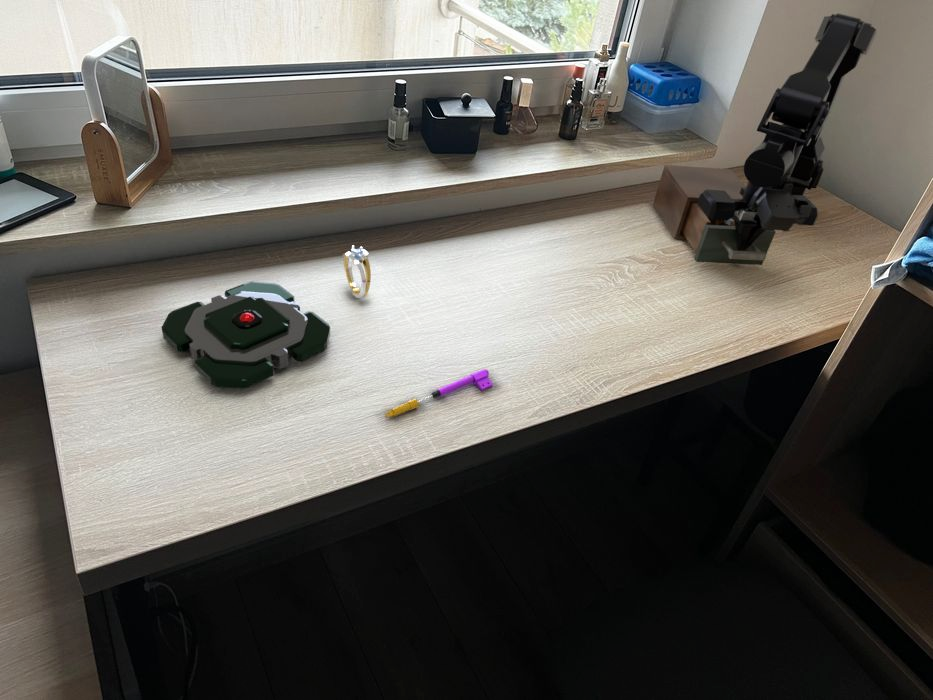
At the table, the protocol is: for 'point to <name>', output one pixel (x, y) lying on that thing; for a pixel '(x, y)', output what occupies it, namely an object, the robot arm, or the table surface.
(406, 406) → the purple and gold rod
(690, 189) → the cabinet
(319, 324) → the clover-shaped pad
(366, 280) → the ring
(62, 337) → the table surface
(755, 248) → the drawer
